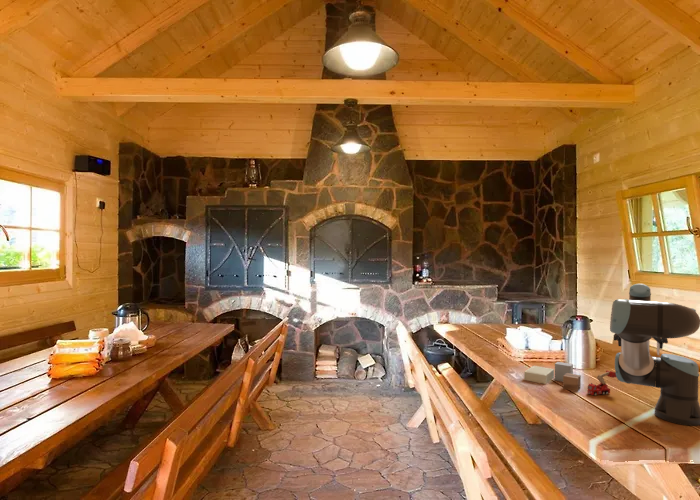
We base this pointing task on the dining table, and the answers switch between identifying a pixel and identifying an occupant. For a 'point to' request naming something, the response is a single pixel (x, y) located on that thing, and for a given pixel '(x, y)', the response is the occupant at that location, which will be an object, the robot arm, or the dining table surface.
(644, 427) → the dining table surface
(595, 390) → the toy fire truck
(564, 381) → the block
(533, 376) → the plinth
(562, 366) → the block
